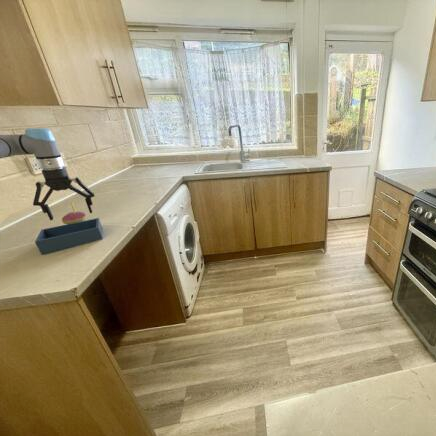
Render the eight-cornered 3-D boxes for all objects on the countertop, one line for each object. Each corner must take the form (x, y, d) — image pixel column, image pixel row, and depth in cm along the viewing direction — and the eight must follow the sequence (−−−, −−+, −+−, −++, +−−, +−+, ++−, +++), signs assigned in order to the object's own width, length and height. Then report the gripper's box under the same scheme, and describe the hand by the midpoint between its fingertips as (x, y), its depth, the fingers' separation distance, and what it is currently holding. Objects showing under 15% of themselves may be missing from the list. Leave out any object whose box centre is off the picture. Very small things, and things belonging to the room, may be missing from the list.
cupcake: (80, 222, 116) (69, 198, 111) (94, 223, 114) (84, 199, 109) (61, 230, 109) (49, 205, 104) (76, 231, 107) (64, 206, 102)
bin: (41, 254, 90) (34, 241, 88) (47, 241, 99) (41, 229, 97) (102, 239, 100) (98, 227, 97) (102, 229, 109) (98, 217, 107)
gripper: (7, 174, 91) (32, 225, 99) (90, 165, 104) (106, 211, 113) (12, 170, 97) (35, 219, 105) (91, 163, 110) (106, 207, 118)
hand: (72, 215), depth 109 cm, fingers open, 13 cm apart
